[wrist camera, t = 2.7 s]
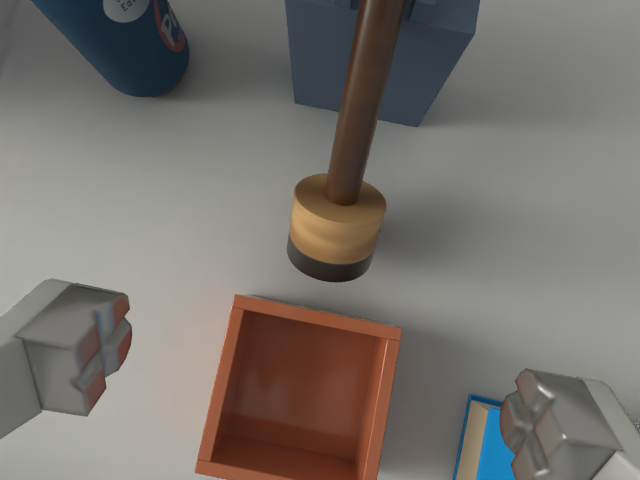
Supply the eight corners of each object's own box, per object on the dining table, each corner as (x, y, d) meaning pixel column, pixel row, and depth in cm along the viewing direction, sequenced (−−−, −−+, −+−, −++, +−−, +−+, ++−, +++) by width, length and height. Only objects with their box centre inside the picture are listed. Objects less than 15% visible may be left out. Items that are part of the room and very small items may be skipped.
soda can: (211, 70, 34) (155, -53, 22) (141, 121, 33) (44, 23, 21) (160, 8, 34) (79, -144, 22) (90, 57, 34) (-32, -73, 22)
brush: (361, 291, 32) (406, 284, 16) (283, 275, 32) (256, 254, 16) (395, 103, 34) (464, -55, 19) (322, 89, 34) (331, -81, 19)
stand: (417, 127, 33) (487, 14, 20) (294, 103, 33) (282, -25, 20) (425, 81, 34) (498, -59, 21) (304, 57, 34) (299, -97, 21)
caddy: (360, 470, 30) (371, 510, 24) (215, 440, 30) (193, 473, 24) (386, 322, 31) (402, 328, 26) (248, 294, 31) (234, 294, 26)
